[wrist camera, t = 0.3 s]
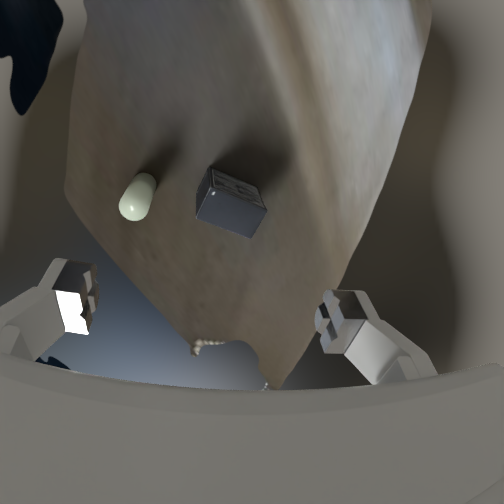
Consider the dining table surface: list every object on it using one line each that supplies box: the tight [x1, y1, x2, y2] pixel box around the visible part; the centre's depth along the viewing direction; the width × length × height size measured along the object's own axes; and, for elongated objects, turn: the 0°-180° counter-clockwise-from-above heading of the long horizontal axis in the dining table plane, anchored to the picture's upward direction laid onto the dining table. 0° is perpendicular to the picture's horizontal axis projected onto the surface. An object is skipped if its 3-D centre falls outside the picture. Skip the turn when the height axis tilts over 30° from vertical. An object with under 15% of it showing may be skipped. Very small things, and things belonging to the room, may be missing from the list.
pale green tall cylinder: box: [119, 173, 156, 221], centre depth 52 cm, size 5×5×10 cm
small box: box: [196, 167, 267, 239], centre depth 55 cm, size 11×6×10 cm, turn 62°
